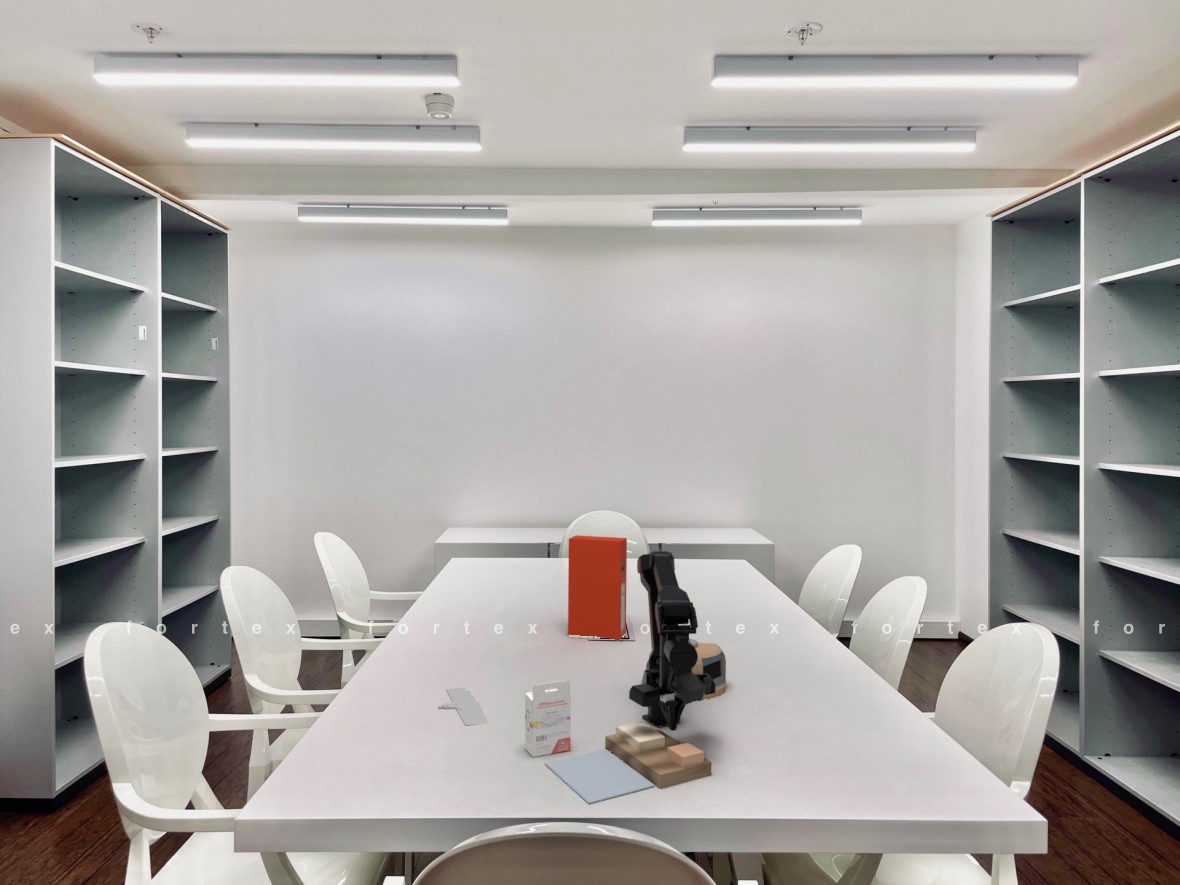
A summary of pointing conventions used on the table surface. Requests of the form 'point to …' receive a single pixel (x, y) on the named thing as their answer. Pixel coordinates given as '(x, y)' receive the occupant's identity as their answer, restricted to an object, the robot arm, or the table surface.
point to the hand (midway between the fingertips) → (672, 729)
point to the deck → (657, 762)
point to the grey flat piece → (465, 706)
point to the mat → (598, 776)
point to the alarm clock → (710, 665)
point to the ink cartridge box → (547, 719)
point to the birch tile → (640, 736)
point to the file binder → (597, 586)
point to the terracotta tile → (685, 755)
